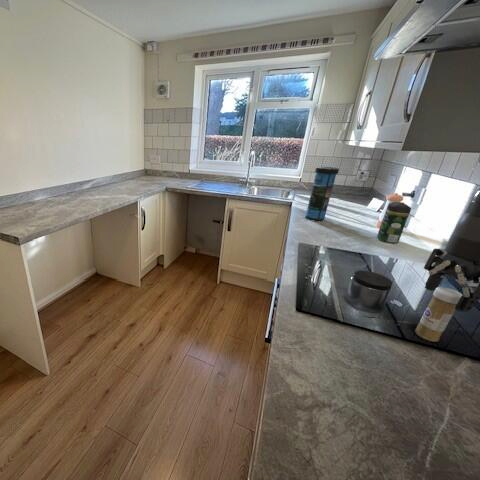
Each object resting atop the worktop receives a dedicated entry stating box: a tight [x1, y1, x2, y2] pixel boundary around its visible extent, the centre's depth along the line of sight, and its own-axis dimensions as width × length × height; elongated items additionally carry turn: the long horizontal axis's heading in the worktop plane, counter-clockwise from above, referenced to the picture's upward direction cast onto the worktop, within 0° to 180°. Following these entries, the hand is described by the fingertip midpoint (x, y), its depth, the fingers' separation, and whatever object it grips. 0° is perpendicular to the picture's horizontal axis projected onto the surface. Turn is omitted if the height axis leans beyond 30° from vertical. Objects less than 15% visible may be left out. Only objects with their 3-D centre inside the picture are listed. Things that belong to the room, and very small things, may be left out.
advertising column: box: [304, 166, 340, 222], centre depth 151 cm, size 11×11×30 cm
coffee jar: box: [376, 201, 412, 244], centre depth 123 cm, size 10×8×19 cm
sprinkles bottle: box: [414, 286, 463, 343], centre depth 63 cm, size 5×5×14 cm
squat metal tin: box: [343, 270, 393, 319], centre depth 74 cm, size 9×9×10 cm
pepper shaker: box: [375, 192, 404, 229], centre depth 140 cm, size 7×7×19 cm
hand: (444, 299), depth 61 cm, fingers open, 8 cm apart
